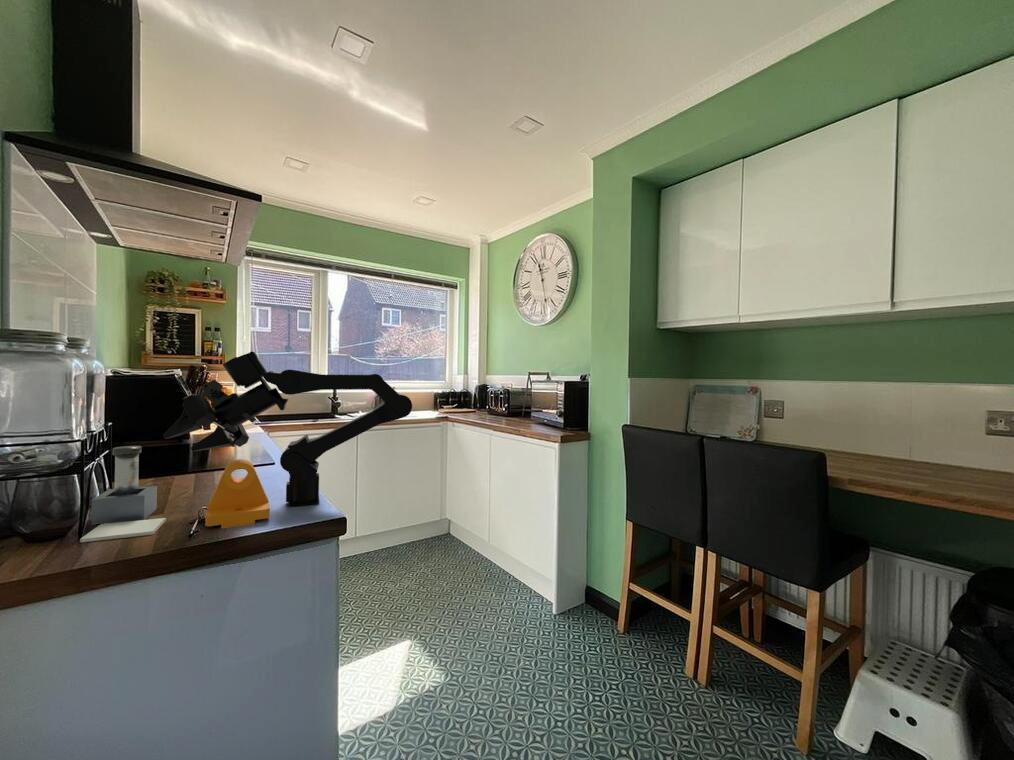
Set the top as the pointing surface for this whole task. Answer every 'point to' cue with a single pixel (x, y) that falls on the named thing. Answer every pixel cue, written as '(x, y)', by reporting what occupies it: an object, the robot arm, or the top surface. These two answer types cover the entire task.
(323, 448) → the robot arm
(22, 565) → the top surface
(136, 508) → the grey open box
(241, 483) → the bracket
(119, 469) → the key peg
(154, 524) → the mat
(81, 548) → the top surface
